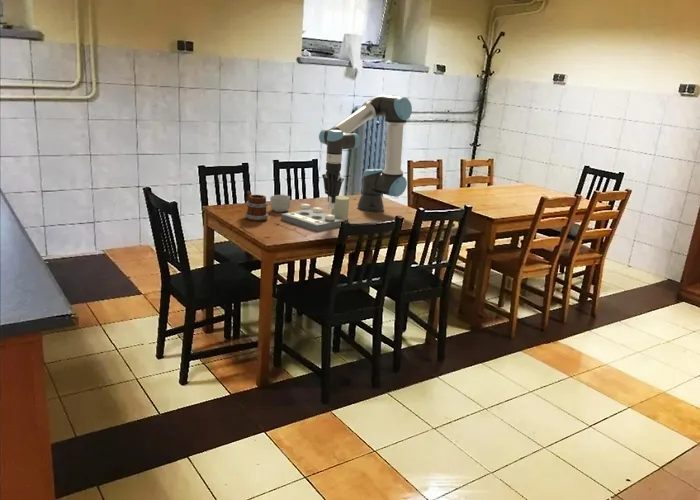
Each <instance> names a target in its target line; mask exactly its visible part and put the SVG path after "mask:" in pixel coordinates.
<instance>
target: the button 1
mask: <svg viewBox="0 0 700 500" xmlns="http://www.w3.org/2000/svg"><path fill="white" fill-rule="evenodd" d="M300 209H301V210H309V209H311V204H309V203H300Z"/></svg>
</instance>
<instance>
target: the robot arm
mask: <svg viewBox="0 0 700 500" xmlns="http://www.w3.org/2000/svg"><path fill="white" fill-rule="evenodd" d="M412 106H413V105H412V103H411V101H410V100H409V98H407V97H405V96H401V95H393V94H392V95H391V94H380V95H376V96H374V97H372V98H370V99H368V100H367V101H366V102H363V104H362V105H361V107H360V108H359V109H357V110H356V111H354V112H353V113H351V114H350V115H348V116H347V117H346V118H344V119H343V120H342V121H339V122H338V123H337V124H335V125H334V126H333V127H330V129H322V130H321V131H320V132H319V134H318V140H319V141H320V143H321V144H323V145H326V160H325V161H326V162H325V170H326V171H325V173H324V174H322V175H321V176H322V179H323V188H324V194H325V195H327V202H328V204H327V205H328V208H327V209H328V210H330V211H332V209H334V203H335V199H336V196H340V192H341V189H342V186H343V182H344V180H345V179H344V177H342V176H341V171H342V160H343V156H342V155H343V150H353V149H357V148H358V147H359V146H360V144H361V137H360V136H359V134H358V133H355V132H354V131H355V130H356V129H358V128H360V127H361V126H363V124H365V123H366V122H367V121H369V120H373V119H375V118H377V117H384V123H386V125H387V128H386V144H385V145H386V147H385V163H384V164H385V165H384V169H383V168H367V169H365V170H364V171H363V173H362V174H363V175H362V182H361V183H362V185H361V195H360V198H359V200H358V203H357V209H358V210H361V211H364V212H372V213H373V212H383V211H384V207H385V205H384V202H383V197H382V196H383V195H386V196H389V197H394V198H398V197H400V196H401V195H403V194H404V193H405V191H406V189H407V185H408V181H407V178H406V177H404V171H403V170H402V152H403V138H404V137H403V136H404V126H405V124H406V123H407V120H409V119H410V118H411V115H412V111H413V110H412V109H413V107H412ZM352 132H353V133H352Z"/></svg>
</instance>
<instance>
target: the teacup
mask: <svg viewBox="0 0 700 500" xmlns="http://www.w3.org/2000/svg"><path fill="white" fill-rule="evenodd" d="M269 199H270V200H269V201H270V208H271V210H273V211H274V212H276V213H284V212H285V213H286V212H287V211H288V210H289V209H290V207H291V196H290V195H285V194H275V195H274V194H273V195H271V196H270V197H269Z"/></svg>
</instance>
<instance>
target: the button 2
mask: <svg viewBox="0 0 700 500" xmlns="http://www.w3.org/2000/svg"><path fill="white" fill-rule="evenodd" d="M325 220H328V221H334V220H335V215H331V213H330V214H329V213H328V214H327V215H325Z"/></svg>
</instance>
